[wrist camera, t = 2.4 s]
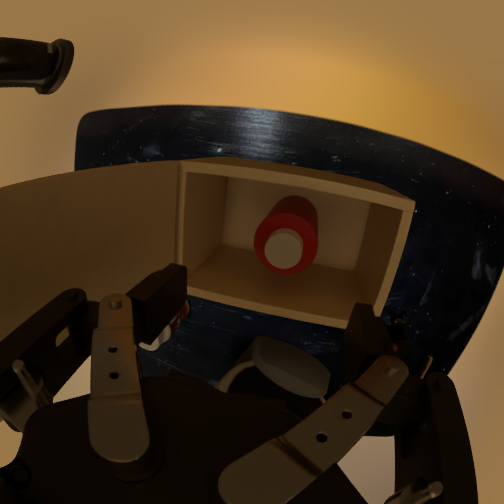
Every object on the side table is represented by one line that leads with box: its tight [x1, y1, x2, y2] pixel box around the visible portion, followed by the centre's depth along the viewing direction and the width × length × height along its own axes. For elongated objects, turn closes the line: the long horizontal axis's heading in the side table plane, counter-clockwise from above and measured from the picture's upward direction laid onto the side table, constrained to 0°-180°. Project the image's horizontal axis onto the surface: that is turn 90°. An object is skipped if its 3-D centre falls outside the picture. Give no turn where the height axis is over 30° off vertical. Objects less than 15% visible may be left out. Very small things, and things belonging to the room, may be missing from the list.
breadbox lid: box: [0, 160, 178, 422], centre depth 12 cm, size 18×11×1 cm
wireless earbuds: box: [387, 312, 407, 357], centre depth 29 cm, size 5×7×3 cm, turn 110°
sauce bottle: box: [254, 195, 318, 274], centre depth 23 cm, size 5×5×10 cm
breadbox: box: [174, 157, 415, 329], centre depth 23 cm, size 17×11×11 cm, turn 83°
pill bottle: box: [139, 299, 189, 351], centre depth 32 cm, size 5×5×8 cm
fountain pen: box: [414, 352, 432, 379], centre depth 32 cm, size 14×1×2 cm, turn 176°
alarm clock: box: [215, 336, 331, 420], centre depth 28 cm, size 16×10×18 cm, turn 60°
